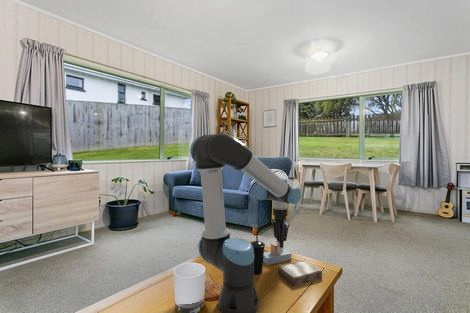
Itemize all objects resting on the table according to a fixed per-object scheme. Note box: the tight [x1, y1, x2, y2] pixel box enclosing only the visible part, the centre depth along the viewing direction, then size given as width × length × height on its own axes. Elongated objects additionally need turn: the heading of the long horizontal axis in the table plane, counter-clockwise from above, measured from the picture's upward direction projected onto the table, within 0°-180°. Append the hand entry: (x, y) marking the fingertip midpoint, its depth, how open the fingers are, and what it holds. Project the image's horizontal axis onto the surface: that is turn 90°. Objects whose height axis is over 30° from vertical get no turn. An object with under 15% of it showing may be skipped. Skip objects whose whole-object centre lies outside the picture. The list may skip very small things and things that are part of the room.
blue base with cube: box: [263, 241, 292, 266], centre depth 130 cm, size 15×7×8 cm, turn 115°
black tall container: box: [249, 230, 266, 276], centre depth 116 cm, size 8×8×20 cm
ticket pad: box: [277, 259, 323, 287], centre depth 113 cm, size 16×12×4 cm
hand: (280, 253), depth 126 cm, fingers closed
